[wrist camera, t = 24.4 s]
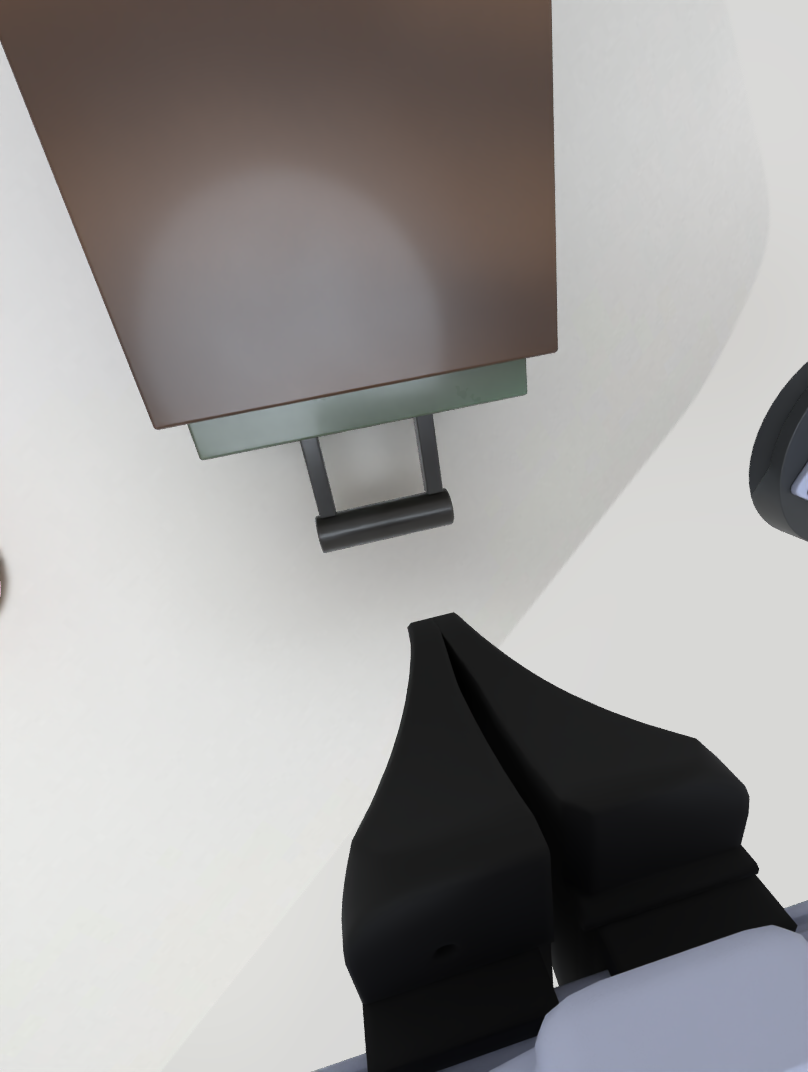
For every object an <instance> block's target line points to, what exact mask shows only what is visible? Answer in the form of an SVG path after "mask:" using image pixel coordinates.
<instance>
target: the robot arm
mask: <svg viewBox="0 0 808 1072" xmlns="http://www.w3.org/2000/svg"><path fill="white" fill-rule="evenodd" d="M791 492H792V494H794V495H796V496H798V497H801V498H803V499H805V500H808V462H807V463H806V465H805V466H804V468H803V469H802V471H801V472H800V474H799V475H798V477H797V478H796V480H795V481H794V483H793V484H792V486H791ZM408 632H409V637H410V642H411V661H410V675H409V682H408V688H407V695H406V701H405V706H404V710H403V715H402V719H401V723H400V727H399V730H398V734H397V737H396V740H395V743H394V747H393V750H392V753H391V756H390V759H389V761H388V764H387V767H386V769H385V772H384V774H383V777H382V779H381V781H380V784H379V786H378V789H377V791H376V793H375V796H374V798H373V800H372V802H371V805H370V807H369V809H368V810H367V812H366V814H365V816H364V818H363V820H362V822H361V824H360V826H359V828H358V830H357V832H356V834H355V836H354V838H353V840H352V843H351V848H350V853H349V858H348V864H347V870H346V876H345V882H344V891H343V901H342V934H343V935H342V936H343V952H344V958H345V964H346V966H347V969H348V971H349V973H350V976H351V978H352V980H353V983H354V985H355V987H356V989H357V992H358V994H359V996H360V999H361V1001H362V1003H363V1017H364V1029H365V1043H366V1053H365V1054H362V1055H359V1056H356V1057H353V1058H350V1059H347V1060H344V1061H342V1062H339V1063H336V1064H333V1065H330V1066H327V1067H324V1068H321V1069H318V1070H316V1071H313V1072H808V900H807V901H804V902H801V903H798V904H796V905H793V906H790V907H787V908H783V907H782V906H781V905H780V904H779V902H778V901H777V900H776V899H775V898H774V896H773V895H772V894H771V893H770V891H769V890H768V889H767V888H766V887H765V885H764V884H763V883H762V882H761V881H760V880H759V878H758V877H757V876H756V875H755V874H758V871H759V868H758V865H757V863H756V862H755V861H754V860H753V858H752V857H751V856H750V855H749V854H748V853H747V852H746V850H745V849H744V848H743V847H742V845H741V842H742V837H743V833H744V829H745V826H746V821H747V817H748V813H749V794H748V792H747V789H746V787H745V786H744V784H743V783H742V782H740V780H738V778H737V777H736V776H735V775H734V774H733V773H732V772H731V771H730V770H729V769H728V768H727V767H726V766H725V765H724V764H723V763H722V762H721V761H720V760H719V759H718V758H717V757H716V756H715V755H714V754H713V753H712V752H711V751H709V750H708V749H707V748H706V747H705V746H704V745H702V744H701V743H700V742H699V741H698V740H697V739H695V738H692V737H689V736H685V735H682V734H678V733H675V732H671V731H668V730H665V729H661V728H658V727H654V726H651V725H648V724H645V723H642V722H639V721H636V720H633V719H630V718H628V717H625V716H622V715H619V714H617V713H614V712H611V711H609V710H606V709H604V708H601V707H599V706H597V705H594V704H592V703H590V702H588V701H585V700H583V699H581V698H579V697H577V696H574V695H572V694H570V693H568V692H566V691H564V690H562V689H560V688H558V687H556V686H555V685H553V684H551V683H549V682H547V681H546V680H544V679H542V678H540V677H539V676H537V675H535V674H534V673H532V672H531V671H529V670H528V669H526V668H524V667H523V666H522V665H520V664H519V663H517V662H516V661H514V660H513V659H511V658H510V657H508V656H507V655H506V654H504V653H503V652H502V651H500V650H499V649H498V648H496V647H495V646H494V645H492V644H491V643H490V642H489V641H487V640H486V639H485V638H484V637H482V636H481V635H480V634H479V633H478V632H476V631H475V630H474V629H473V628H472V627H471V626H469V625H468V624H467V623H466V622H465V621H464V620H463V619H462V618H461V617H460V616H458V615H457V614H456V613H454V612H453V613H449V614H445V615H441V616H437V617H433V618H429V619H425V620H421V621H417V622H413V623H411V624H410V625H409V626H408ZM552 967H553V970H554V973H555V975H556V978H557V981H558V984H559V986H558V987H556V988H554V987H553V974H552Z"/></svg>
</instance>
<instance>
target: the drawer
mask: <svg viewBox="0 0 808 1072" xmlns="http://www.w3.org/2000/svg"><path fill="white" fill-rule="evenodd" d="M526 394H527V377H526V358H525V359H520V360H515V361H510V362H504V363H499V364H494V365H489V366H484V367H479V368H474V369H468V370H463V371H458V372H453V373H448V374H443V375H438V376H432V377H427V378H422V379H417V380H412V381H407V382H402V383H396V384H391V385H386V386H381V387H376V388H371V389H366V390H360V391H355V392H350V393H345V394H340V395H335V396H330V397H324V398H319V399H314V400H309V401H304V402H299V403H294V404H288V405H283V406H278V407H273V408H268V409H263V410H258V411H252V412H247V413H242V414H237V415H232V416H227V417H221V418H216V419H211V420H206V421H201V422H196V423H191V424H187V425H188V428H189V430H190V433H191V436H192V439H193V441H194V444H195V447H196V449H197V452H198V455H199V458H200V459H201V460H207V459H212V458H217V457H222V456H227V455H232V454H237V453H242V452H247V451H252V450H257V449H262V448H267V447H271V446H276V445H281V444H286V443H291V442H296V441H300V443H301V447H302V451H303V455H304V459H305V462H306V466H307V470H308V474H309V478H310V481H311V485H312V489H313V493H314V496H315V500H316V504H317V508H318V512H319V515H320V516H316V518H315V522H316V528H317V533H318V537H319V541H320V545H321V548H322V550H323V552H324V553H327V552H332V551H336V550H340V549H345V548H349V547H354V546H358V545H362V544H367V543H371V542H375V541H380V540H384V539H388V538H393V537H397V536H401V535H406V534H410V533H414V532H419V531H423V530H428V529H432V528H436V527H441V526H445V525H449V524H452V523H453V521H454V512H453V506H452V502H451V498H450V496H449V493H448V491H447V490H446V489H445V488H442V481H441V473H440V466H439V458H438V451H437V444H436V436H435V429H434V421H433V414H434V413H439V412H444V411H449V410H454V409H459V408H464V407H468V406H473V405H478V404H483V403H488V402H493V401H498V400H503V399H508V398H513V397H518V396H523V395H526ZM409 418H413V419H414V426H415V432H416V439H417V446H418V452H419V459H420V465H421V472H422V478H423V485H424V490H425V492H424V493H420V494H415V495H411V496H406V497H402V498H397V499H393V500H388V501H383V502H379V503H374V504H370V505H365V506H361V507H356V508H352V509H347V510H343V511H338V512H336V508H335V504H334V500H333V496H332V492H331V488H330V484H329V480H328V476H327V472H326V467H325V463H324V459H323V455H322V451H321V447H320V443H319V439H318V437H321V436H326V435H331V434H335V433H340V432H345V431H350V430H355V429H360V428H365V427H370V426H375V425H380V424H385V423H390V422H395V421H400V420H404V419H409Z"/></svg>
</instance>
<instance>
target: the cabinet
mask: <svg viewBox="0 0 808 1072" xmlns="http://www.w3.org/2000/svg"><path fill="white" fill-rule="evenodd" d="M0 42H1V44H2V47H3V49H4V52H5V54H6V57H7V59H8V62H9V64H10V67H11V69H12V72H13V74H14V77H15V79H16V82H17V84H18V87H19V89H20V92H21V94H22V97H23V99H24V102H25V105H26V107H27V110H28V112H29V115H30V117H31V120H32V122H33V125H34V127H35V130H36V132H37V135H38V137H39V140H40V142H41V145H42V147H43V150H44V152H45V155H46V157H47V160H48V162H49V165H50V167H51V170H52V173H53V175H54V178H55V180H56V183H57V185H58V188H59V190H60V193H61V195H62V198H63V200H64V203H65V205H66V208H67V210H68V213H69V215H70V218H71V220H72V223H73V225H74V228H75V230H76V233H77V236H78V238H79V241H80V243H81V246H82V248H83V251H84V253H85V256H86V258H87V261H88V263H89V266H90V268H91V271H92V273H93V276H94V278H95V281H96V283H97V286H98V288H99V291H100V293H101V296H102V298H103V301H104V304H105V306H106V309H107V311H108V314H109V316H110V319H111V321H112V324H113V326H114V329H115V331H116V334H117V336H118V339H119V341H120V344H121V346H122V349H123V351H124V354H125V356H126V359H127V361H128V364H129V367H130V369H131V372H132V374H133V377H134V379H135V382H136V384H137V387H138V389H139V392H140V394H141V397H142V399H143V402H144V404H145V407H146V409H147V412H148V414H149V417H150V419H151V422H152V424H153V427H154V428H155V429H157V430H160V429H165V428H170V427H175V426H180V425H185V424H191V423H196V422H201V421H206V420H211V419H216V418H221V417H227V416H232V415H237V414H242V413H247V412H252V411H258V410H263V409H268V408H273V407H278V406H283V405H288V404H294V403H299V402H304V401H309V400H314V399H319V398H324V397H330V396H335V395H340V394H345V393H350V392H355V391H360V390H366V389H371V388H376V387H381V386H386V385H391V384H396V383H402V382H407V381H412V380H417V379H422V378H427V377H432V376H438V375H443V374H448V373H453V372H458V371H463V370H468V369H474V368H479V367H484V366H489V365H494V364H499V363H504V362H510V361H515V360H520V359H525V358H530V357H535V356H540V355H546V354H551V353H555V352H556V351H557V350H558V337H557V282H556V227H555V172H554V117H553V62H552V7H551V0H0Z"/></svg>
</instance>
